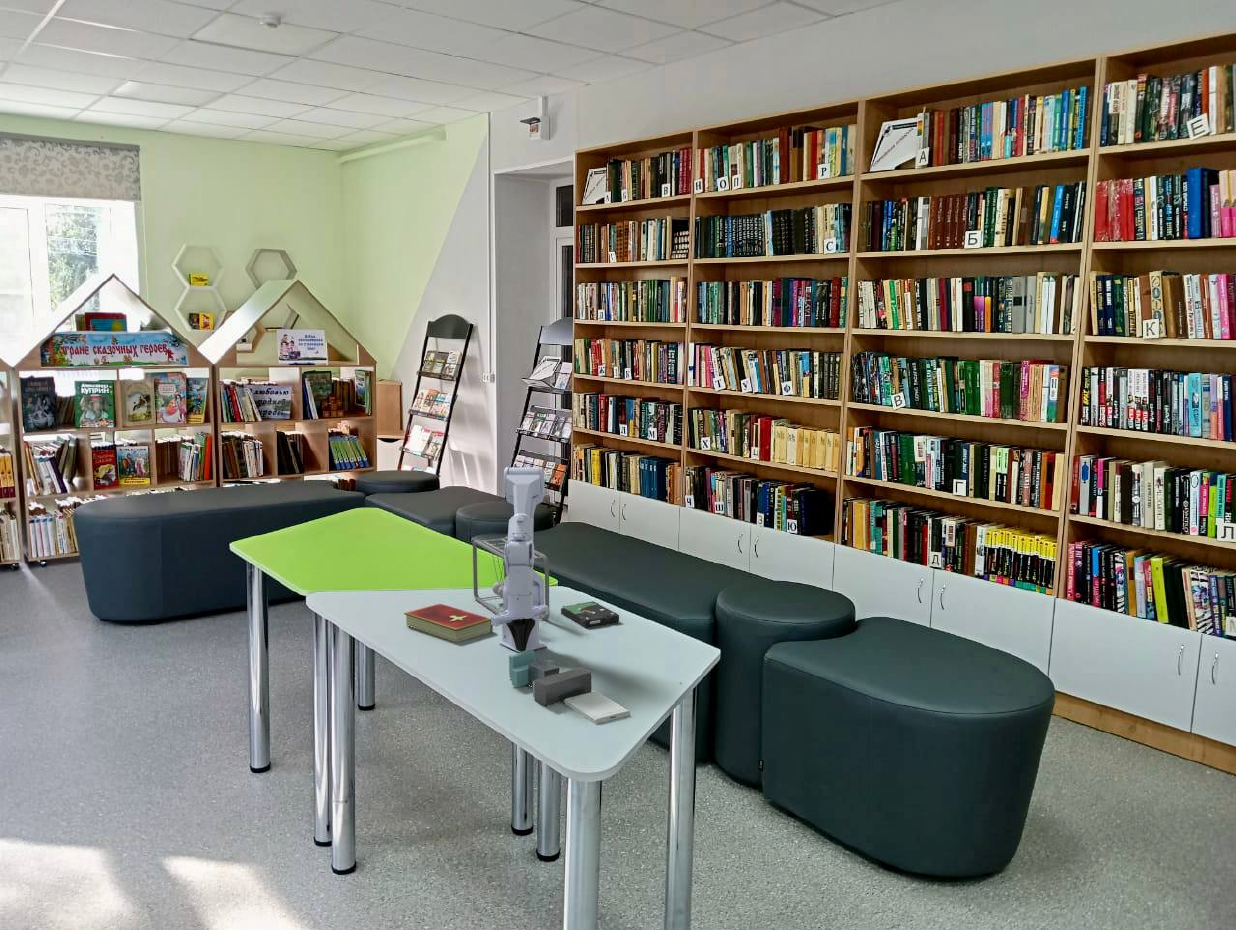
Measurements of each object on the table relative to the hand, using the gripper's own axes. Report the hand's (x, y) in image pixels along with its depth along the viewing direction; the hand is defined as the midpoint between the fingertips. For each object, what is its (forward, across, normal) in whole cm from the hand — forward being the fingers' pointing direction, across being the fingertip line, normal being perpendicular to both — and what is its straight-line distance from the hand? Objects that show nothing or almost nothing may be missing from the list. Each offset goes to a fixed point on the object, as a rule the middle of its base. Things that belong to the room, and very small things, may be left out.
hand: (520, 650), depth 223 cm
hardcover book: (+5, +1, +35) cm, 36 cm away
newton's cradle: (+4, +22, +39) cm, 45 cm away
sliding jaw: (+4, -3, -8) cm, 9 cm away
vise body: (+4, -3, -19) cm, 20 cm away
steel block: (+4, -3, -14) cm, 15 cm away
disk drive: (+5, +35, +19) cm, 40 cm away
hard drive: (+4, -2, -31) cm, 31 cm away
